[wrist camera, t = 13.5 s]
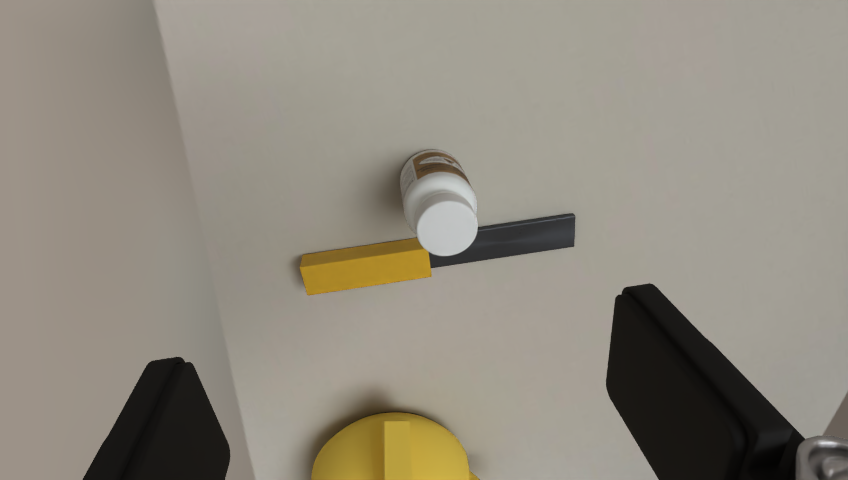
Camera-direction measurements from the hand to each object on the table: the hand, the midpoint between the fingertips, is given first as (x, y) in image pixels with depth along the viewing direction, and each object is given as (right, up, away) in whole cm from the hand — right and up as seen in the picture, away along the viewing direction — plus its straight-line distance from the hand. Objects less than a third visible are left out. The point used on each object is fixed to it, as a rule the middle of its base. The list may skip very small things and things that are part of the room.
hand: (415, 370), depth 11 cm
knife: (+1, +2, +25) cm, 25 cm away
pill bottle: (+1, +7, +23) cm, 24 cm away
